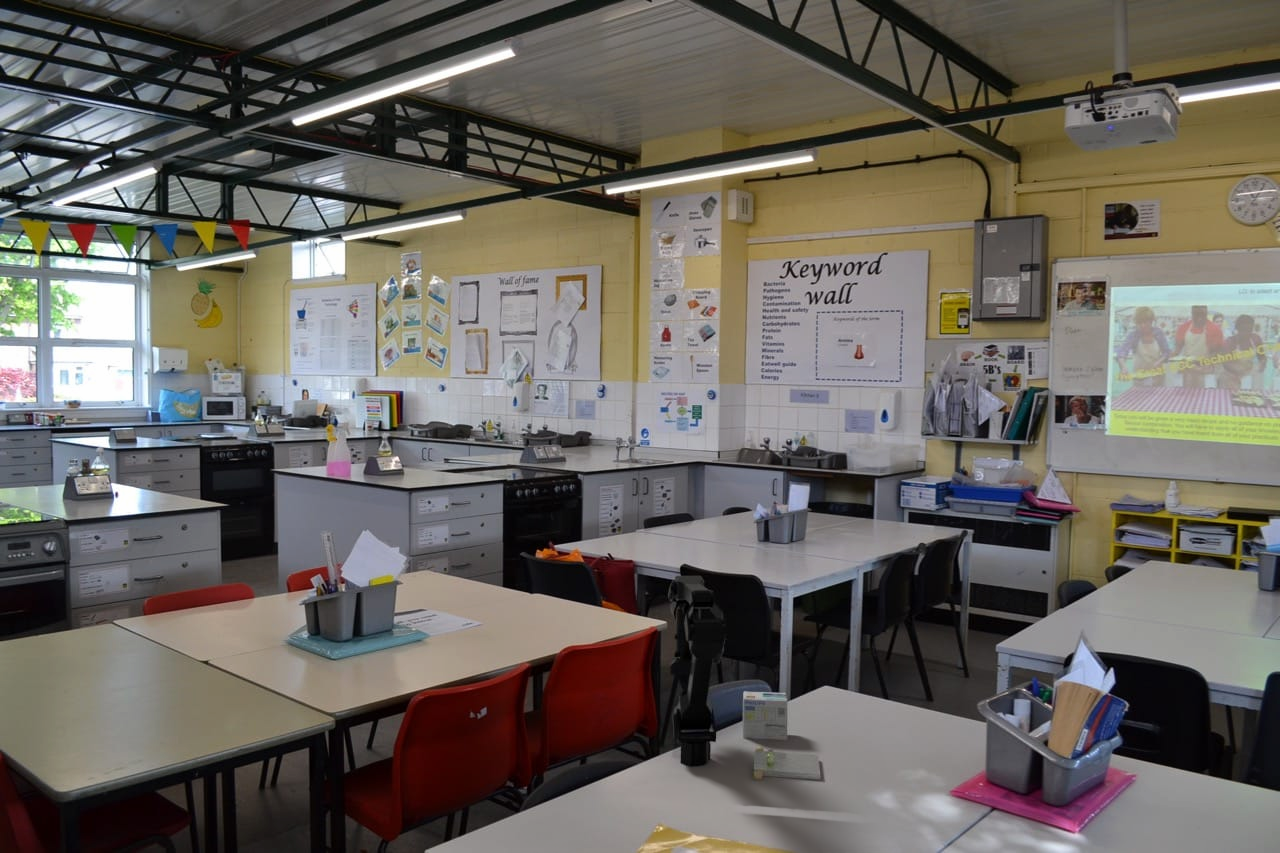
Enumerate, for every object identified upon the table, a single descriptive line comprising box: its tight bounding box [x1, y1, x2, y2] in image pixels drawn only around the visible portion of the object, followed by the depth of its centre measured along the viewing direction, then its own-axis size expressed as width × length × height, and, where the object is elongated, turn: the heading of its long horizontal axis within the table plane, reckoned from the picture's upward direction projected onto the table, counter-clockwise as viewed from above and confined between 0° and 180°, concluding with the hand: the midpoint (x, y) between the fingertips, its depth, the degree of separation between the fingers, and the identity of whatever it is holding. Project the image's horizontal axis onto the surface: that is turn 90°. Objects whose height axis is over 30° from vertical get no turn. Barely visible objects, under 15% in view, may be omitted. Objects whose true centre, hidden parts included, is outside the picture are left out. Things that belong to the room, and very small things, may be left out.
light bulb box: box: [742, 690, 788, 741], centre depth 219 cm, size 11×7×11 cm, turn 84°
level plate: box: [753, 749, 821, 781], centre depth 199 cm, size 14×11×3 cm
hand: (687, 695), depth 214 cm, fingers closed
